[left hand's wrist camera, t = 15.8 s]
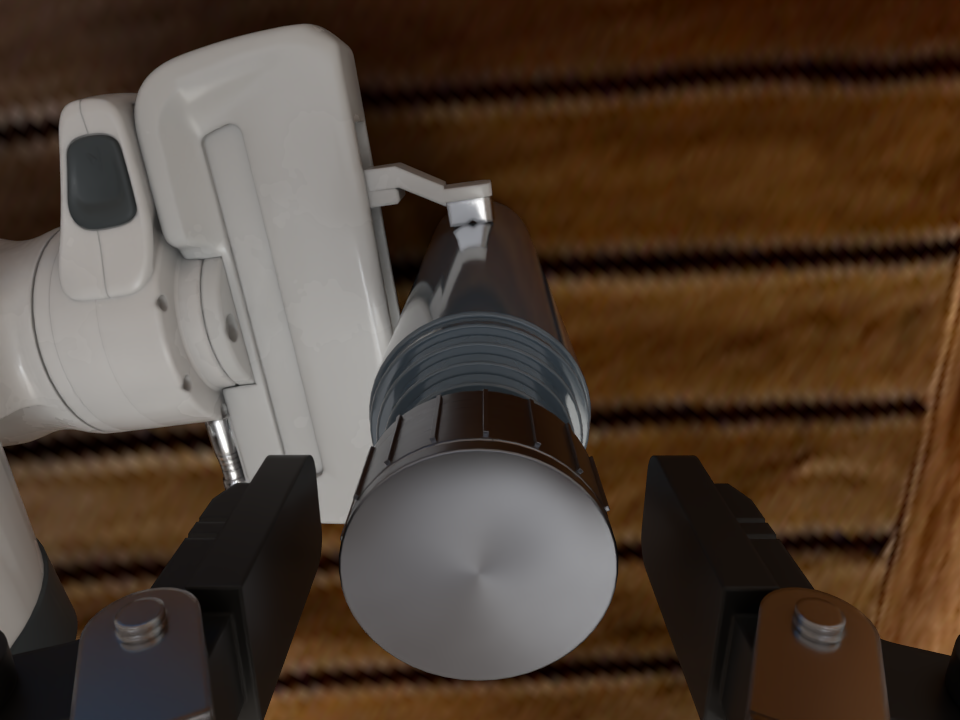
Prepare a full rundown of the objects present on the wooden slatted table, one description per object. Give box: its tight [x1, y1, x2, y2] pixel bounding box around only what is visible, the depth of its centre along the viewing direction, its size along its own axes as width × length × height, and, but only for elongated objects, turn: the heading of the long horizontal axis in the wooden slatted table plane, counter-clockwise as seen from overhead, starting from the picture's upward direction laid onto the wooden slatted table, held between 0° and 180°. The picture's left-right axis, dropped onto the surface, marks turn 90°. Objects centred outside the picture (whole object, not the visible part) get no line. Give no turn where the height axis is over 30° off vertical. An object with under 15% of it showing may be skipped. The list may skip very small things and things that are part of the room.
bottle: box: [369, 201, 591, 450], centre depth 22 cm, size 5×5×24 cm
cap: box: [339, 389, 618, 680], centre depth 11 cm, size 4×4×2 cm
